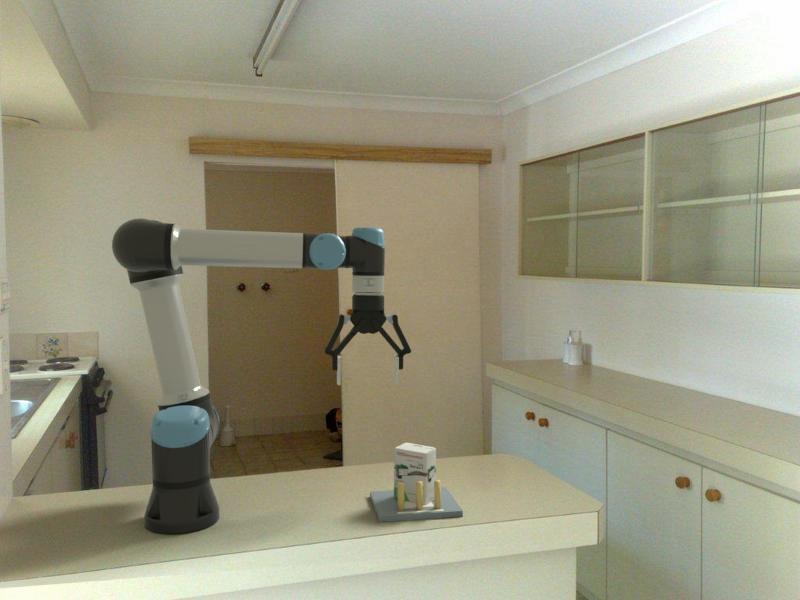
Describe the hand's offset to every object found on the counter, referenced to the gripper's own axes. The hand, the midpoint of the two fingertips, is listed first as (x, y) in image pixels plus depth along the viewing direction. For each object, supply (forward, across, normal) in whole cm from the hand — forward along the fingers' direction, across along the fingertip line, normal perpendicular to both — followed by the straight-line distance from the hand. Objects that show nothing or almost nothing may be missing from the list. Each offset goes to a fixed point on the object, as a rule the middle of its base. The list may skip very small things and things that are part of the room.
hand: (367, 383), depth 169 cm
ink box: (+24, +10, -11) cm, 29 cm away
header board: (+26, +10, -12) cm, 30 cm away
